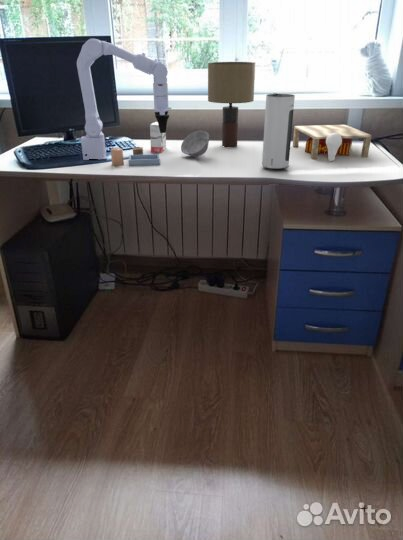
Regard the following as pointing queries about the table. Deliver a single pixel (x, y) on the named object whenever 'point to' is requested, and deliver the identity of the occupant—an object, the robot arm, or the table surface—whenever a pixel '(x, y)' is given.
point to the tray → (144, 159)
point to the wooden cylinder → (117, 156)
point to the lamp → (230, 93)
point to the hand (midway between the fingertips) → (162, 131)
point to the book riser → (326, 130)
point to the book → (322, 148)
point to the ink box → (157, 139)
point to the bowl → (195, 143)
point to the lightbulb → (333, 145)
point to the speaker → (277, 130)
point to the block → (138, 151)
